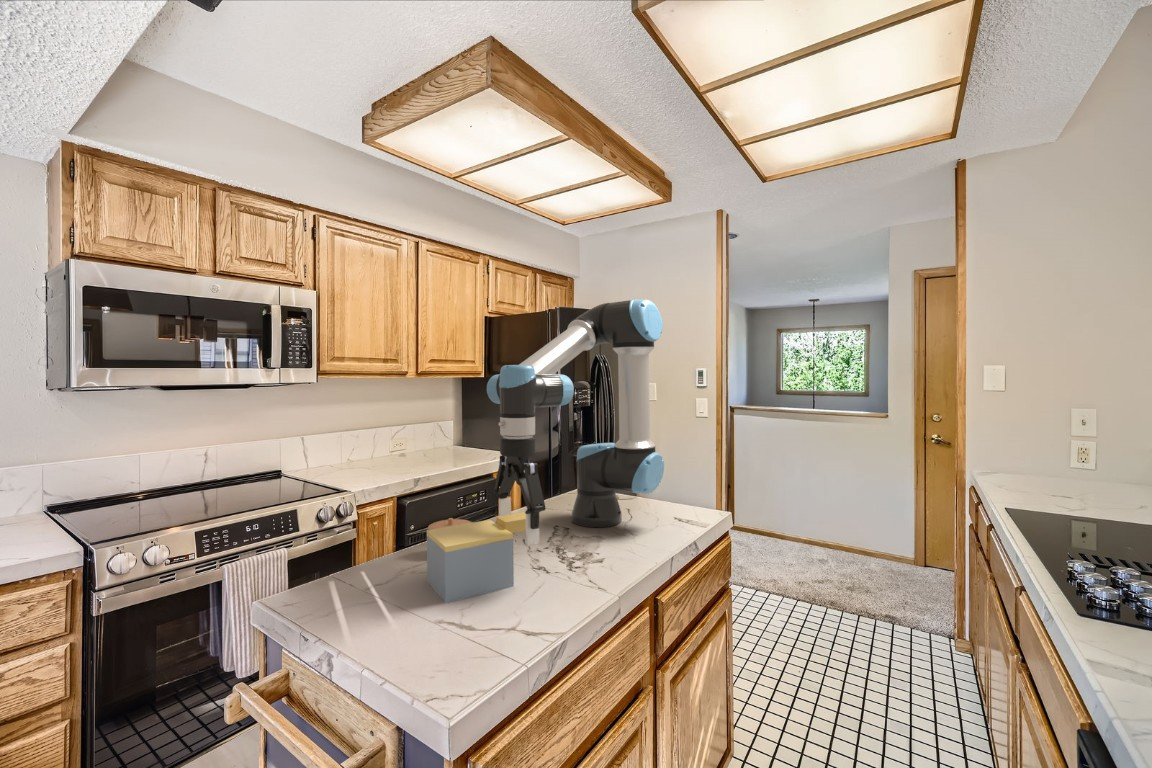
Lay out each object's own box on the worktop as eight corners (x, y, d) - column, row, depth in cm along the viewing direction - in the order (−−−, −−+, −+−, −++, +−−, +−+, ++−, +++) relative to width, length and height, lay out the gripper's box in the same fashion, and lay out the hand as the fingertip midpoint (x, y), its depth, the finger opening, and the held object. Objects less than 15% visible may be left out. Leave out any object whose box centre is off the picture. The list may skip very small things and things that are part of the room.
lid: (518, 519, 117) (518, 508, 117) (543, 532, 107) (543, 521, 107) (426, 535, 106) (426, 523, 106) (445, 552, 96) (445, 538, 96)
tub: (490, 573, 113) (490, 524, 113) (513, 593, 103) (513, 539, 103) (427, 588, 106) (426, 535, 106) (445, 610, 96) (445, 552, 96)
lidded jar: (462, 566, 118) (462, 526, 117) (419, 563, 120) (419, 523, 120) (480, 550, 128) (479, 513, 128) (440, 548, 130) (440, 511, 130)
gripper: (479, 432, 118) (480, 523, 119) (528, 444, 97) (528, 555, 98) (509, 430, 122) (509, 518, 123) (562, 441, 101) (562, 548, 102)
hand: (518, 535), depth 110 cm, fingers open, 13 cm apart
